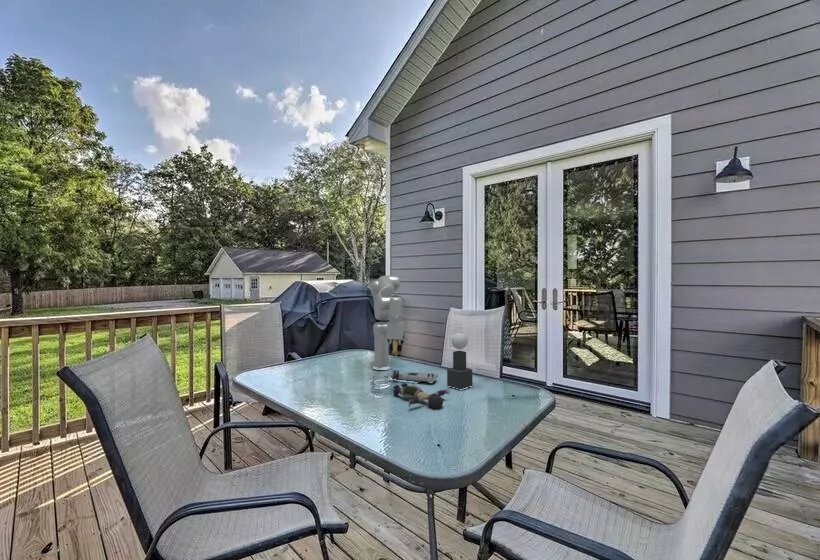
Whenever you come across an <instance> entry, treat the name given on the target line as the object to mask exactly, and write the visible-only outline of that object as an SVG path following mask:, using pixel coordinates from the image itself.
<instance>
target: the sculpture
mask: <svg viewBox="0 0 820 560" xmlns="http://www.w3.org/2000/svg"><path fill="white" fill-rule="evenodd" d="M451 344H452V347H454V349H456V350H455V351H453V352H452V367H451V368H450V367H449V368H447V369H446V386H447V385H448V386H451V387H455V388H458V389H463V388H466V387H469V386H472V385H474V384H473V383H474V382H473V381H474V380H473V369H472V368H468V367H467V352H466V351H462V349H465V348H466V347H467V345H468V338H467V336H466V335H465V334H464V333H462V332H458V333H455V334H453V336H452V337H451Z"/></svg>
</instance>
